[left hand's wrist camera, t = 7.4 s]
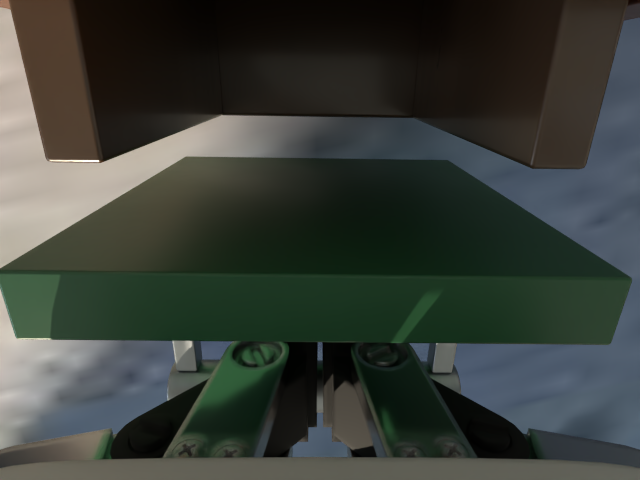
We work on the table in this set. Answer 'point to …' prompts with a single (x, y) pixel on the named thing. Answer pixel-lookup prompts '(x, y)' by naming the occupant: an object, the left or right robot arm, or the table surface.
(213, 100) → the drawer
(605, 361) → the table surface
